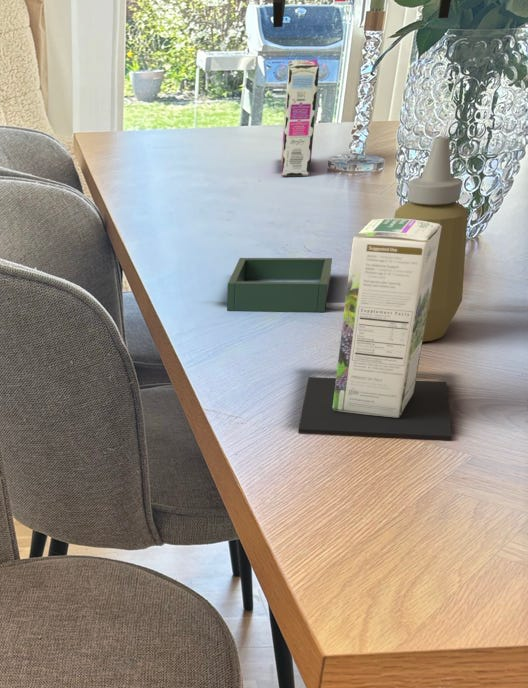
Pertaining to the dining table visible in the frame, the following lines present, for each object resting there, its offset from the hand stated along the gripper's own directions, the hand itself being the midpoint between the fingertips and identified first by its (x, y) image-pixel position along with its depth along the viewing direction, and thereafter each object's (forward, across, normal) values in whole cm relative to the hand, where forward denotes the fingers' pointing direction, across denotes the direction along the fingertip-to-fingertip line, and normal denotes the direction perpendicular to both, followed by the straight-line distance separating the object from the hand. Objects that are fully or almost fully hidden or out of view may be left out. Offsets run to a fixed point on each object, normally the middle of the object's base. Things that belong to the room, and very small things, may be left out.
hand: (359, 10), depth 83 cm
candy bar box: (-43, +9, -84) cm, 94 cm away
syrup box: (+32, -5, -8) cm, 33 cm away
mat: (+32, -5, -8) cm, 33 cm away
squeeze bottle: (+18, -8, -22) cm, 30 cm away
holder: (+9, +6, -31) cm, 33 cm away
